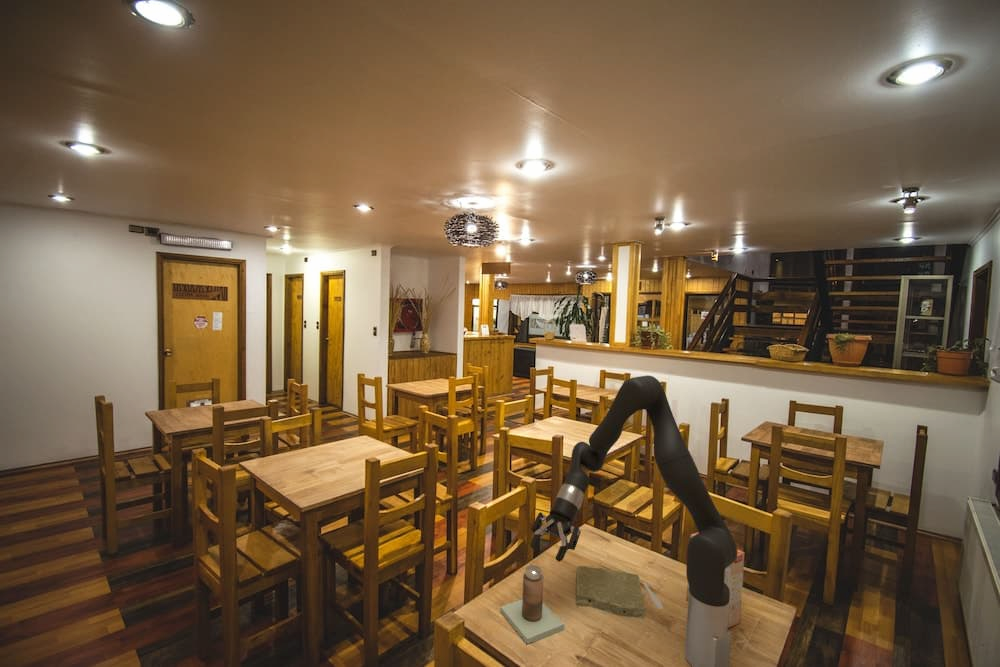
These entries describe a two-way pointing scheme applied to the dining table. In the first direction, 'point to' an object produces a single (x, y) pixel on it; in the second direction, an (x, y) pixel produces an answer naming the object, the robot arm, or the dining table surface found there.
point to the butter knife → (653, 597)
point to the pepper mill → (532, 594)
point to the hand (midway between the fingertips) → (544, 554)
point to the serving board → (531, 629)
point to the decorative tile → (609, 591)
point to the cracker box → (733, 587)
